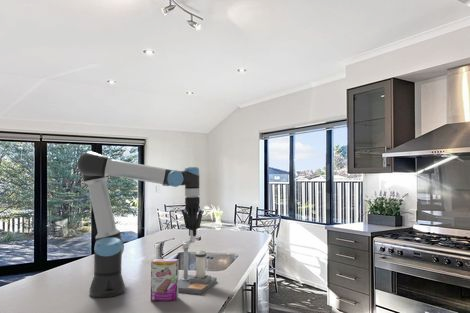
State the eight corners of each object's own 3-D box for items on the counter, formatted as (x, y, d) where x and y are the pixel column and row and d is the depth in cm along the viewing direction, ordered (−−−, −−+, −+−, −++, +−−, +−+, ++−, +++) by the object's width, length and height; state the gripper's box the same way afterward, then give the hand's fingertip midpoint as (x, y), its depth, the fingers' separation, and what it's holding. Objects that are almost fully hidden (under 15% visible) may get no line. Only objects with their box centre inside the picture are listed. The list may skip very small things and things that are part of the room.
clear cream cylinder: (203, 283, 166) (203, 253, 166) (193, 282, 167) (193, 252, 168) (207, 280, 171) (207, 250, 171) (198, 279, 172) (198, 250, 173)
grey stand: (201, 294, 156) (201, 256, 157) (167, 291, 161) (168, 253, 162) (217, 281, 175) (217, 247, 176) (187, 278, 180) (187, 245, 181)
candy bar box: (150, 301, 147) (150, 261, 148) (152, 297, 152) (153, 258, 153) (177, 301, 148) (177, 261, 149) (178, 297, 153) (178, 258, 154)
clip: (193, 243, 186) (193, 238, 186) (188, 249, 171) (188, 243, 171) (187, 243, 186) (187, 238, 186) (181, 249, 171) (181, 243, 171)
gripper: (206, 196, 185) (207, 242, 183) (186, 196, 191) (186, 240, 190) (198, 197, 178) (199, 244, 177) (177, 196, 184) (178, 242, 183)
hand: (192, 242), depth 183 cm, fingers closed
